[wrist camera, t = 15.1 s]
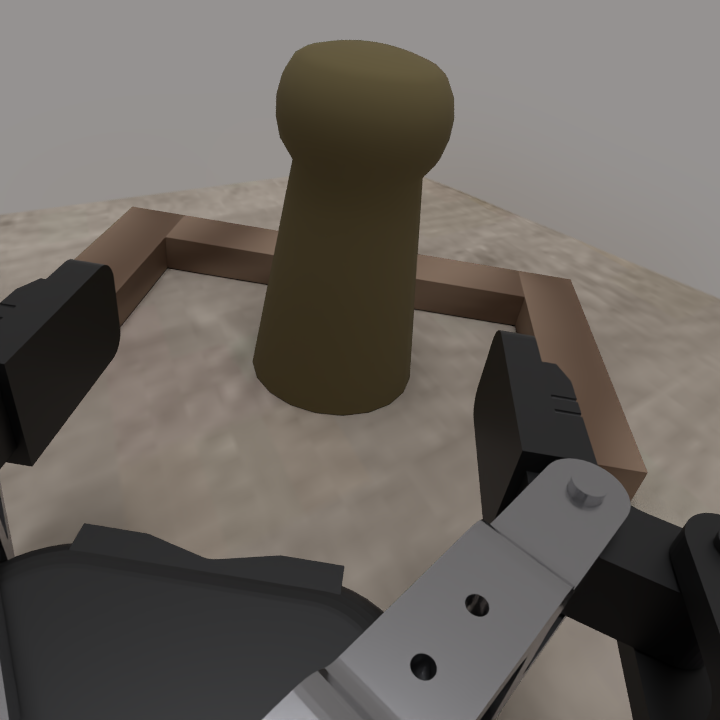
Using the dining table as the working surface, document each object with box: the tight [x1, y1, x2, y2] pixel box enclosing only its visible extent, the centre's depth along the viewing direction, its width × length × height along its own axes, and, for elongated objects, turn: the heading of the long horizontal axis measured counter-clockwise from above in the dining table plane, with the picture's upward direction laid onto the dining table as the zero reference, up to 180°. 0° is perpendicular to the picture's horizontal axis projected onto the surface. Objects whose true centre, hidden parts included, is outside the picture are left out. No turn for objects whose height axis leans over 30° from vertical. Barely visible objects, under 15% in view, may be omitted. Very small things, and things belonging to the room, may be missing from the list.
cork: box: [253, 40, 454, 415], centre depth 20 cm, size 6×6×11 cm
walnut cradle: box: [74, 207, 648, 501], centre depth 24 cm, size 21×12×2 cm, turn 84°
